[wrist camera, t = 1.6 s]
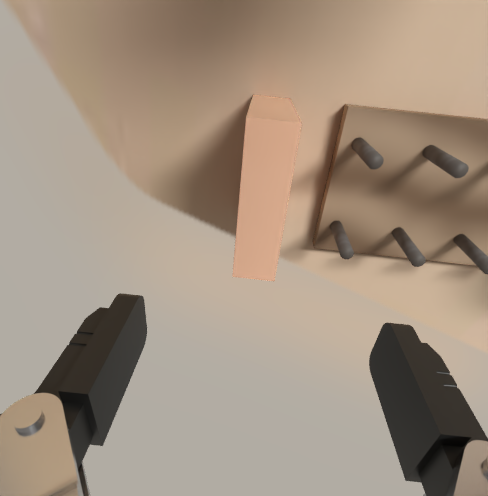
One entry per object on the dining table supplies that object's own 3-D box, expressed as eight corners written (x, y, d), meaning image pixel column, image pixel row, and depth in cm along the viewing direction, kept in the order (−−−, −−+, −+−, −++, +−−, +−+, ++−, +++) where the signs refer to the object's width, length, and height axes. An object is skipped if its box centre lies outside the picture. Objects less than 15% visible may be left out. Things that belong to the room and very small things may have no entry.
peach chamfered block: (253, 94, 24) (246, 116, 16) (290, 98, 24) (301, 122, 16) (242, 214, 29) (232, 276, 21) (272, 217, 29) (274, 281, 21)
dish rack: (344, 104, 24) (364, 118, 19) (599, 130, 24) (684, 151, 19) (312, 241, 30) (321, 277, 25) (513, 262, 30) (560, 303, 25)
